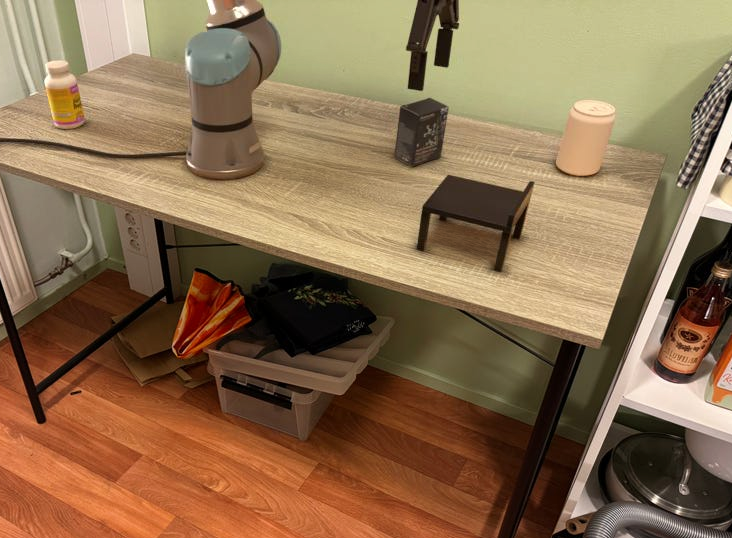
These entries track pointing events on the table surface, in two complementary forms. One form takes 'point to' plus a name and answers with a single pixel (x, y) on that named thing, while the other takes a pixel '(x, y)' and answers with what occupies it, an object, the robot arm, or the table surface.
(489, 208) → the small dark brown table
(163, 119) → the table surface
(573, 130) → the beverage can
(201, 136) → the robot arm
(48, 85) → the supplement bottle
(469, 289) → the table surface
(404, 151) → the box
